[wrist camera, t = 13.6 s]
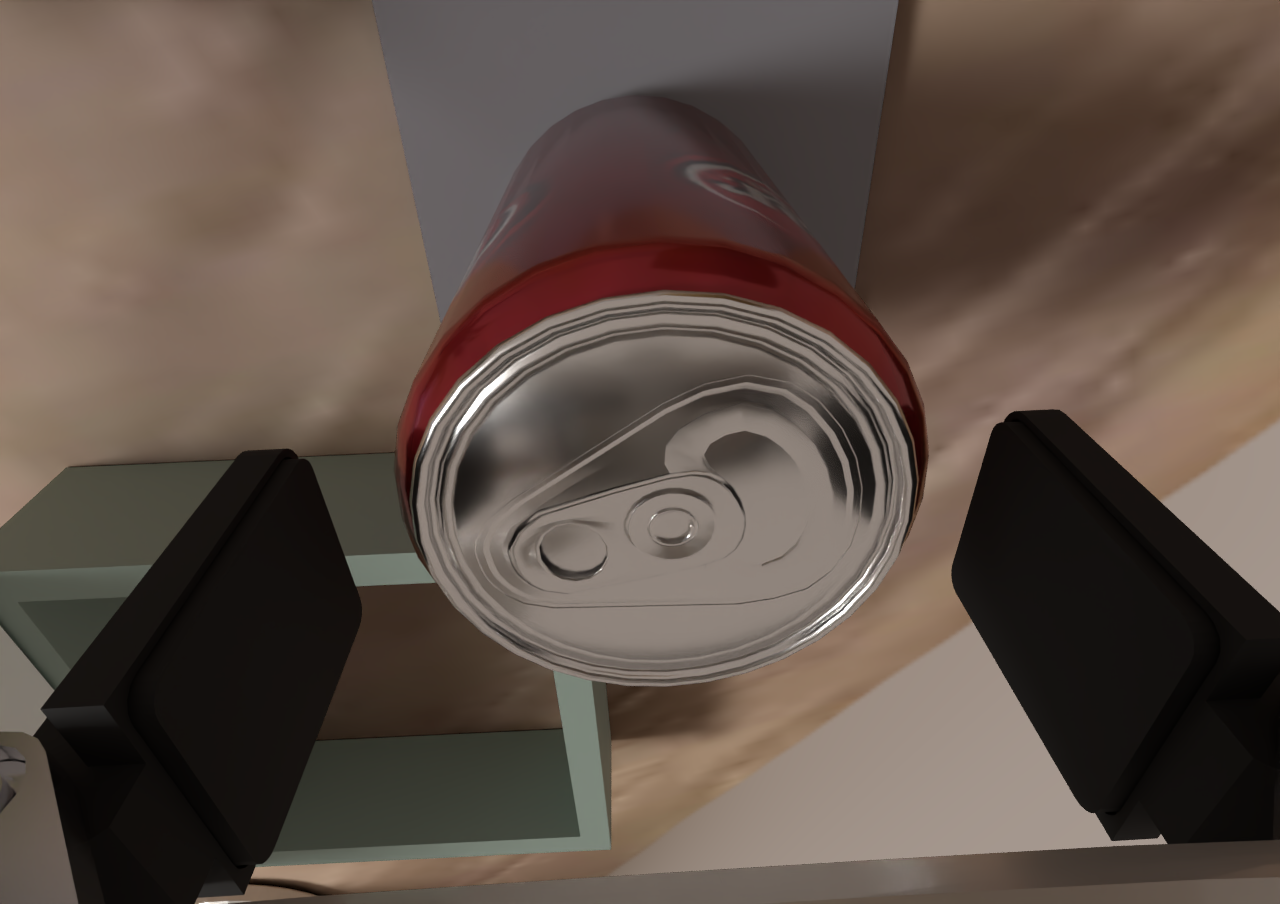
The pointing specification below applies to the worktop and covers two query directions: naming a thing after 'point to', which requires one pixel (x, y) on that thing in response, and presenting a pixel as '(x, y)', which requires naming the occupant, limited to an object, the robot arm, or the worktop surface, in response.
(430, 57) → the slate mat
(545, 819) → the open hinged box
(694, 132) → the soda can
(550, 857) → the worktop surface
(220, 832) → the robot arm
